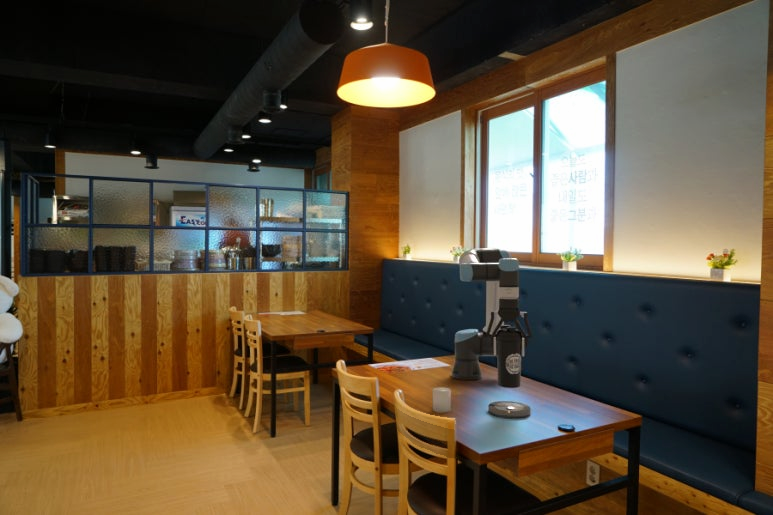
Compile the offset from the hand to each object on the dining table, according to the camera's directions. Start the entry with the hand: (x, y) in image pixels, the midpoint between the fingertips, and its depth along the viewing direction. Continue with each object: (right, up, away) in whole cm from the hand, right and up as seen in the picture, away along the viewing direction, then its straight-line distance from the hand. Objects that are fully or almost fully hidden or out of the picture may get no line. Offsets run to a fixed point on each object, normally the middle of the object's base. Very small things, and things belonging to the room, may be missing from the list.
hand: (509, 355), depth 201 cm
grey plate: (0, -22, 0) cm, 22 cm away
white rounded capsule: (-26, -23, +4) cm, 34 cm away
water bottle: (0, -12, 0) cm, 12 cm away
